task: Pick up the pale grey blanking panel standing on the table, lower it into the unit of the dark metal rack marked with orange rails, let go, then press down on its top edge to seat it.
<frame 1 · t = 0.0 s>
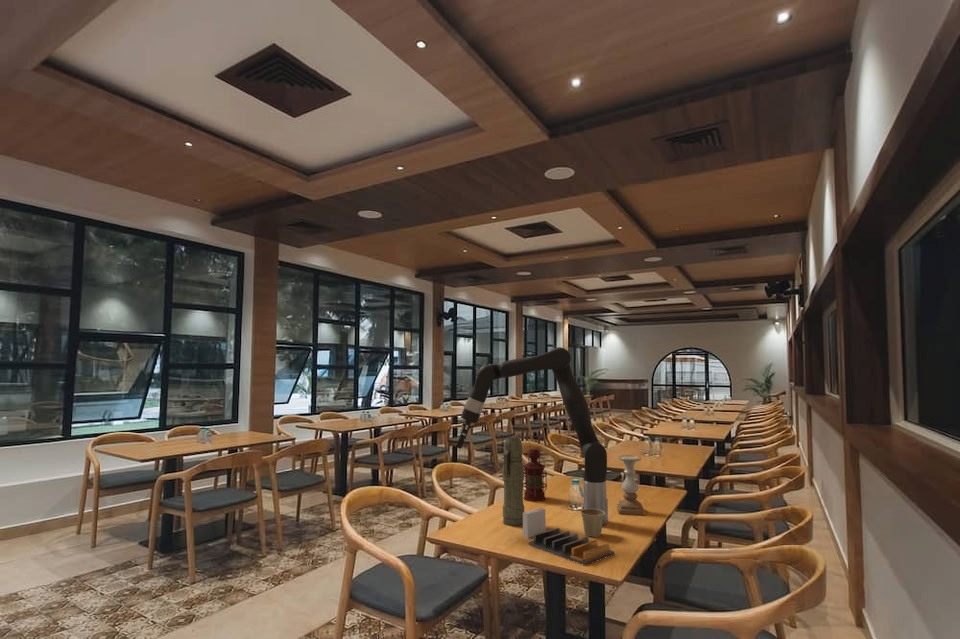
hand: (459, 446, 225), 31 cm above the table, tool tilted 20°, fingers open, 8 cm apart
thermos: (513, 523, 223), on the table
candle holder: (630, 512, 239), on the table
rack: (570, 549, 191), on the table
blanking panel: (534, 534, 208), on the table
flower pot: (593, 535, 207), on the table
lantern: (534, 499, 260), on the table
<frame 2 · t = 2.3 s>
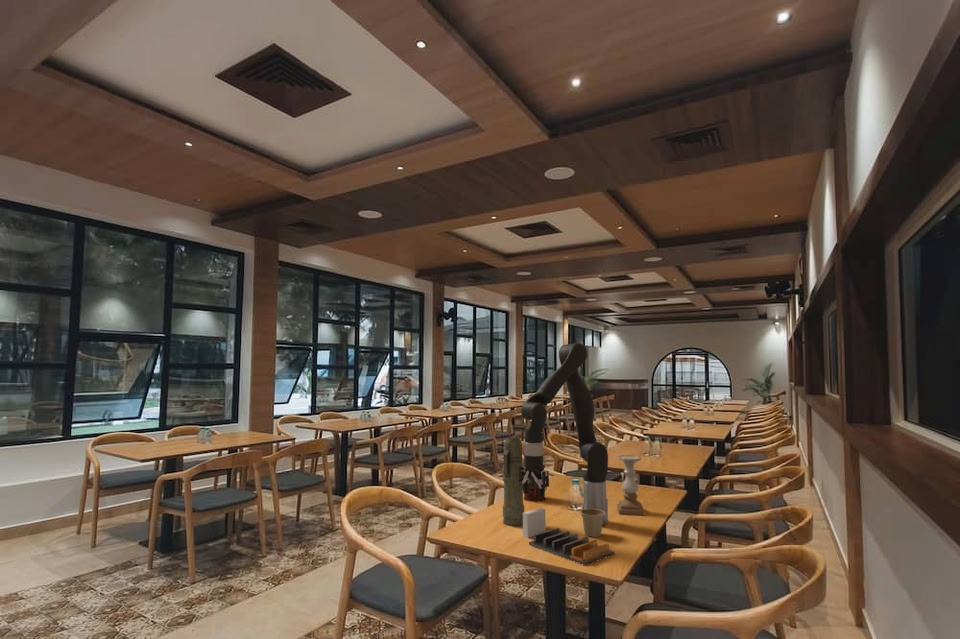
hand: (533, 495, 209), 15 cm above the table, tool pointing down, fingers open, 8 cm apart
nothing on the table moved.
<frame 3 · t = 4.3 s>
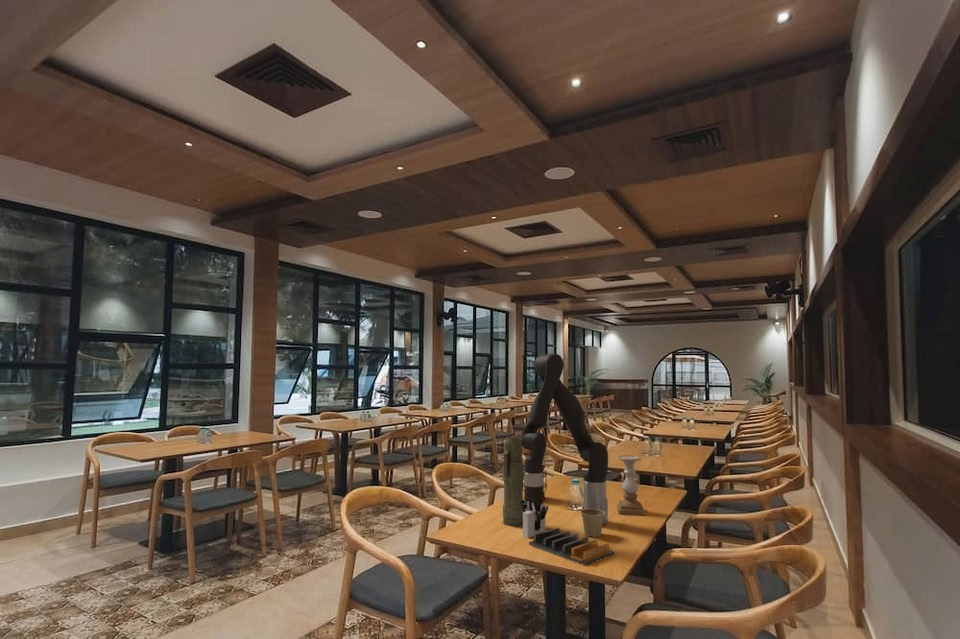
hand: (534, 528, 208), 2 cm above the table, tool pointing down, fingers closed on blanking panel, 2 cm apart
blanking panel: (534, 534, 208), on the table, touching gripper
everything else where it was.
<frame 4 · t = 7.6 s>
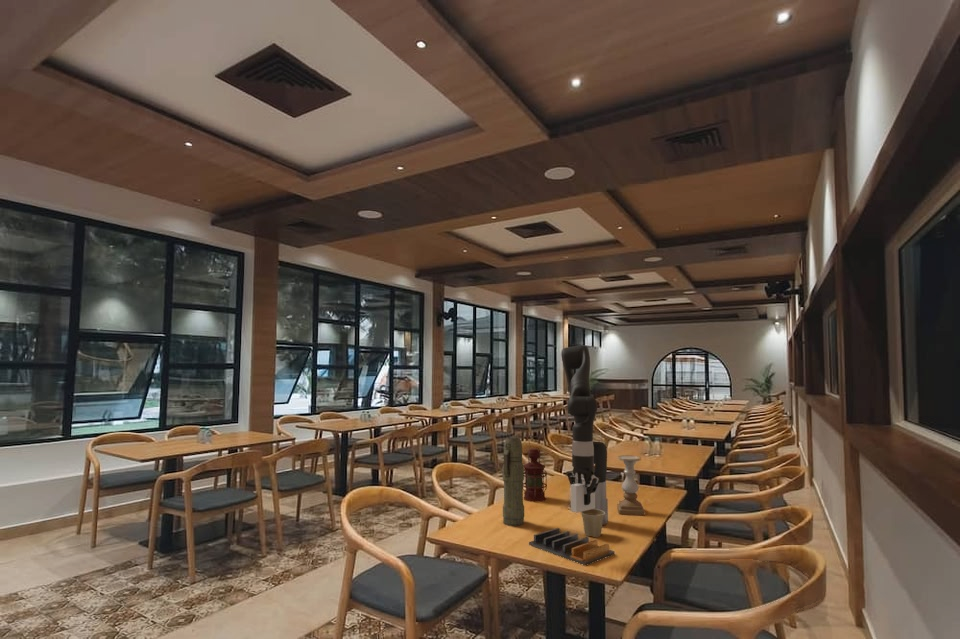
hand: (583, 503, 187), 18 cm above the table, tool pointing down, fingers closed on blanking panel, 2 cm apart
blanking panel: (583, 509, 187), point 15 cm above the table, touching gripper
everything else where it was.
when the fingers open (5 cm above the table, at t = 10.9 s): blanking panel drops 1 cm, resting on rack.
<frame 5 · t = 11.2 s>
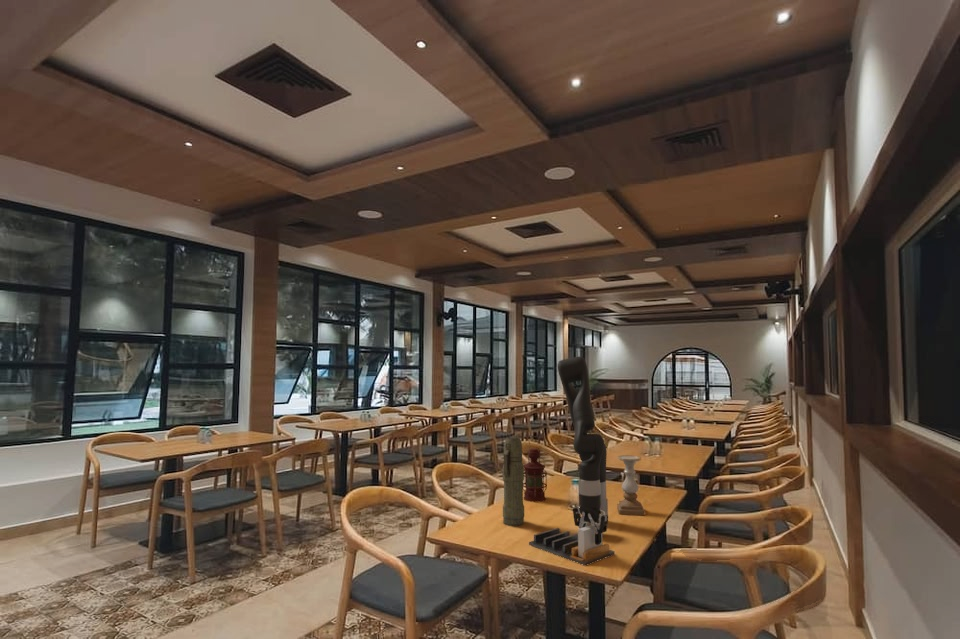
hand: (590, 541, 185), 5 cm above the table, tool pointing down, fingers open, 5 cm apart
blanking panel: (590, 553, 184), point 1 cm above the table, touching rack
everything else where it was.
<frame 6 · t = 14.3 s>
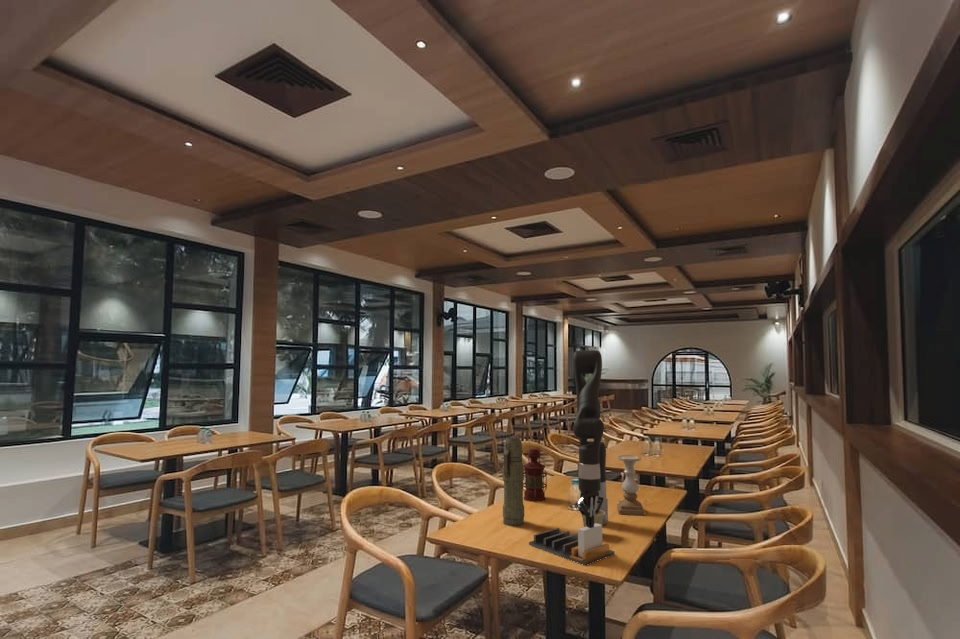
hand: (590, 527, 185), 10 cm above the table, tool pointing down, fingers closed
blanking panel: (590, 553, 184), point 1 cm above the table, touching gripper, rack
everything else where it was.
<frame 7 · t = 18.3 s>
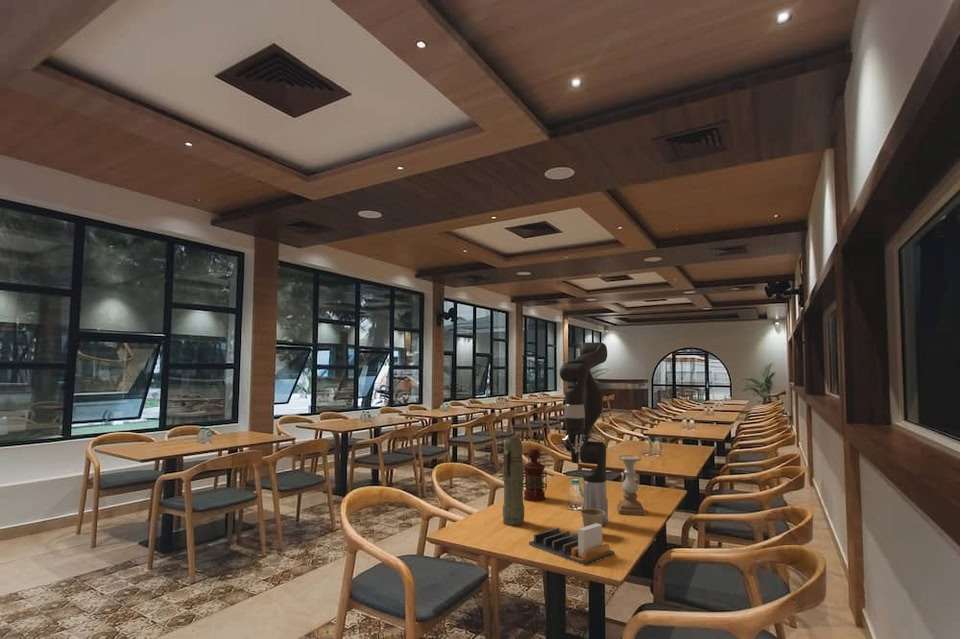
hand: (575, 462, 202), 29 cm above the table, tool pointing down, fingers closed
blanking panel: (590, 553, 184), point 1 cm above the table, touching rack
everything else where it was.
at the end: blanking panel 0.1 cm from the target spot on the rack, point 1.0 cm above the rack's base; blanking panel tilted 0°; the gripper is holding nothing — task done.
